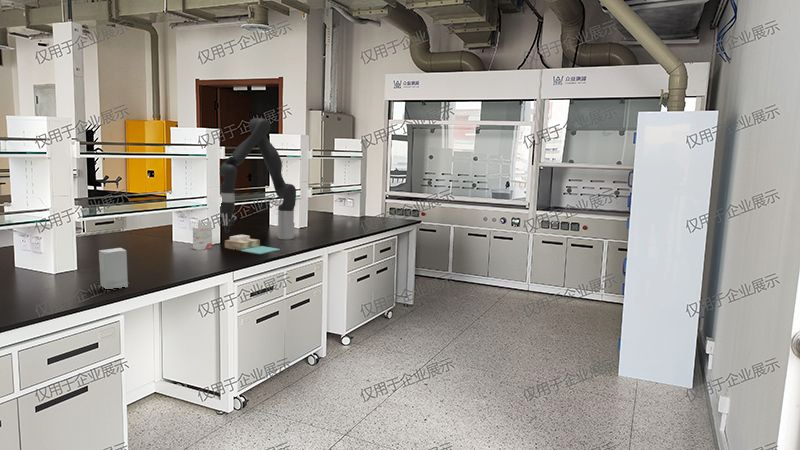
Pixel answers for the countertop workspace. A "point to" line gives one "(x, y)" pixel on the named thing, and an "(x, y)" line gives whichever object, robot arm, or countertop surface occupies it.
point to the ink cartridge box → (202, 236)
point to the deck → (242, 244)
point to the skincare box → (113, 268)
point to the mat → (260, 250)
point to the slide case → (239, 237)
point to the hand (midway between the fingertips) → (227, 232)
